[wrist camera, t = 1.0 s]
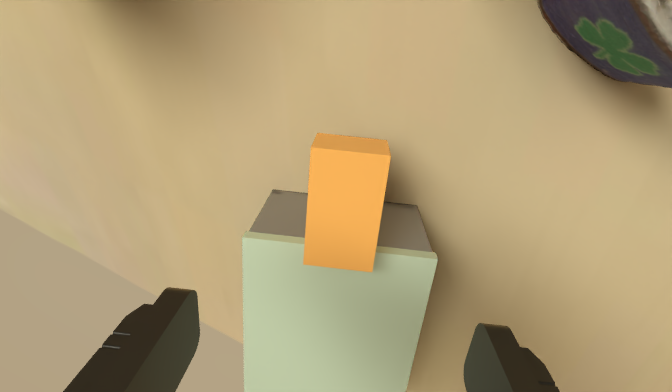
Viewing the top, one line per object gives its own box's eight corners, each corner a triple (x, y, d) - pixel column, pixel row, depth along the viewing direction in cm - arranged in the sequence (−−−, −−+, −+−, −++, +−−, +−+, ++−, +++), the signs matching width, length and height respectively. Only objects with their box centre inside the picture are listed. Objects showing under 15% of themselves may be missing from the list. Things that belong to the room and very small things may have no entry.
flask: (651, 58, 25) (840, 72, 15) (613, 93, 26) (767, 128, 16) (560, -38, 23) (707, -92, 13) (523, 4, 24) (634, -18, 14)
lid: (456, 143, 22) (475, 164, 18) (395, 406, 31) (399, 455, 27) (249, 121, 22) (227, 138, 18) (250, 389, 31) (235, 435, 28)
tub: (416, 205, 30) (432, 251, 24) (387, 349, 37) (393, 416, 30) (272, 189, 30) (249, 231, 24) (269, 335, 37) (249, 399, 30)
